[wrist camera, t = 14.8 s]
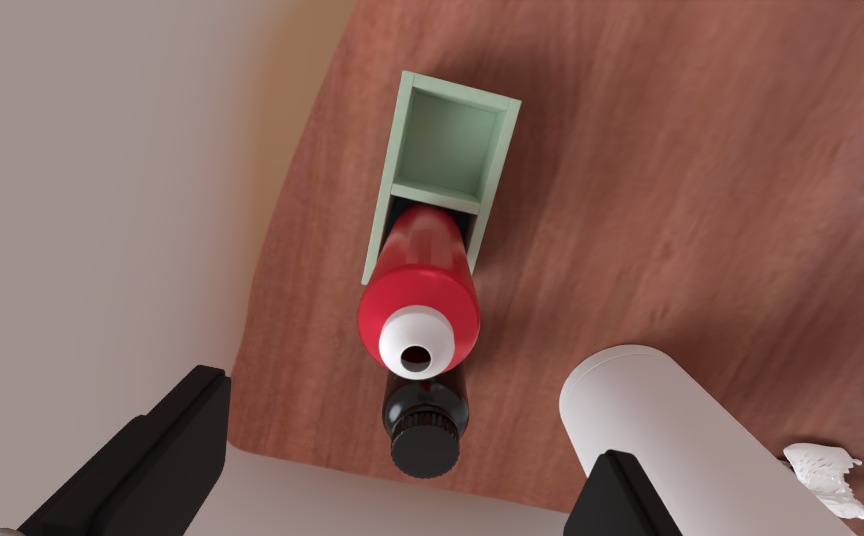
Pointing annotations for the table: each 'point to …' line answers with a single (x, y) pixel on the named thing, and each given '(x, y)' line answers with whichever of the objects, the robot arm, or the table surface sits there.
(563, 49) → the table surface
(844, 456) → the white dragon
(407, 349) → the bottle
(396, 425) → the supplement bottle
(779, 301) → the table surface
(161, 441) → the robot arm
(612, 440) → the cylinder
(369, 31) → the table surface
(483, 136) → the box
